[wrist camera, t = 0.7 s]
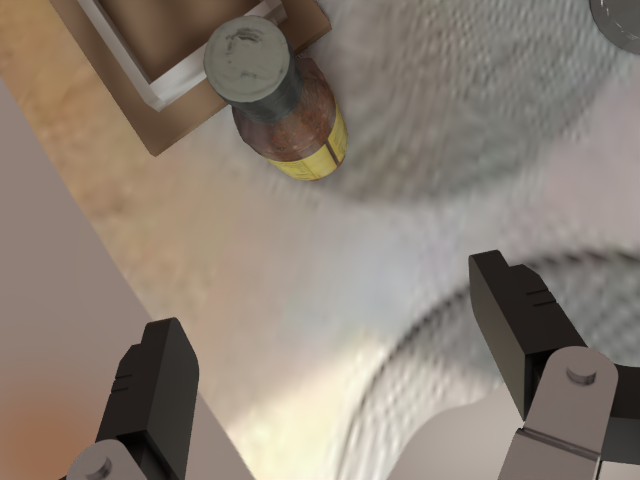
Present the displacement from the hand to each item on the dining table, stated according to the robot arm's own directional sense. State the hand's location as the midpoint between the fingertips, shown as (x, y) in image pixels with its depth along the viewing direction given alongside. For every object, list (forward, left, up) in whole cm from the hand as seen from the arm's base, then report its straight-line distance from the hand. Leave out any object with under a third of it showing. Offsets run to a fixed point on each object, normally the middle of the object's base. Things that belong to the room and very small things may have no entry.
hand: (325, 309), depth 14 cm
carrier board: (-1, -27, -28) cm, 39 cm away
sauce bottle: (-3, -11, -28) cm, 30 cm away
